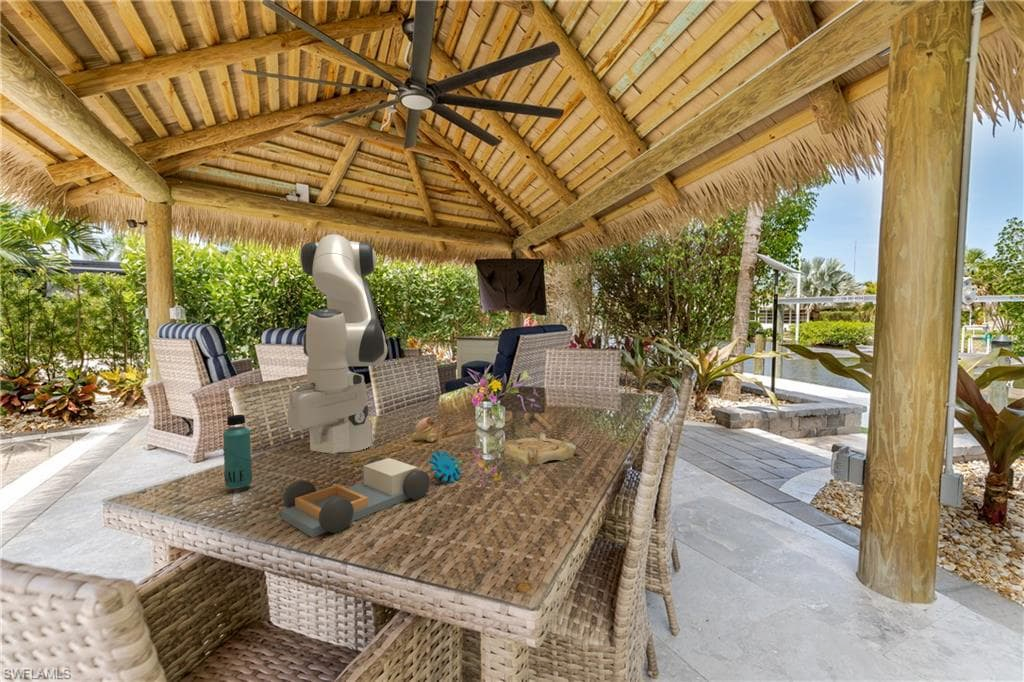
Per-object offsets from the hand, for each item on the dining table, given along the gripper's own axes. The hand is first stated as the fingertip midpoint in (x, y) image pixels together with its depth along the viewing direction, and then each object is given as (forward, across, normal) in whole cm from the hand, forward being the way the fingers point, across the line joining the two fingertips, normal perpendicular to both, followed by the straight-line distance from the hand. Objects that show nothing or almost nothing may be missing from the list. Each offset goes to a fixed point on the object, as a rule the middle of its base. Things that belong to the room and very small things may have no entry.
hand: (329, 439), depth 107 cm
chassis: (+18, +7, -2) cm, 19 cm away
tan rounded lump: (+18, +60, +14) cm, 64 cm away
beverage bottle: (+18, +2, +34) cm, 38 cm away
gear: (+18, +30, -13) cm, 38 cm away
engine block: (+2, 0, 0) cm, 2 cm away
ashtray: (+18, +62, -29) cm, 71 cm away
